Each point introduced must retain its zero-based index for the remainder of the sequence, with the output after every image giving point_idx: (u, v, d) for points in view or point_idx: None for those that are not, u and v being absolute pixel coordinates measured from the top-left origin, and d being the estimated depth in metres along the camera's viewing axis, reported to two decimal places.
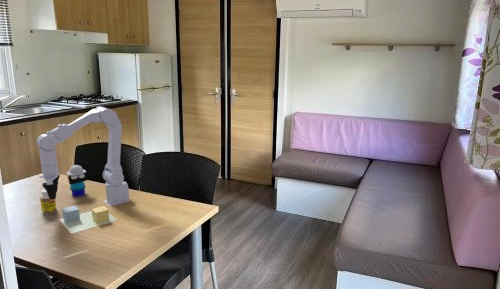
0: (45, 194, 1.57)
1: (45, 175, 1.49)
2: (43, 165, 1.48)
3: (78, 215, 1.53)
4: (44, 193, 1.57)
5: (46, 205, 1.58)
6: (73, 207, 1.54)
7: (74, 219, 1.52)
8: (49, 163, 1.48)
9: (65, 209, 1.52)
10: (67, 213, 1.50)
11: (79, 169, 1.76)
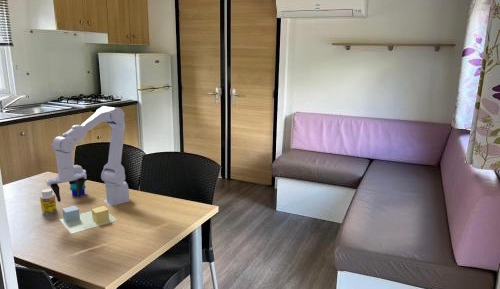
0: (45, 194, 1.57)
1: None
2: (61, 168, 1.46)
3: (78, 215, 1.53)
4: (44, 193, 1.57)
5: (46, 205, 1.58)
6: (73, 207, 1.54)
7: (74, 219, 1.52)
8: (68, 165, 1.46)
9: (65, 209, 1.52)
10: (67, 213, 1.50)
11: (79, 169, 1.76)
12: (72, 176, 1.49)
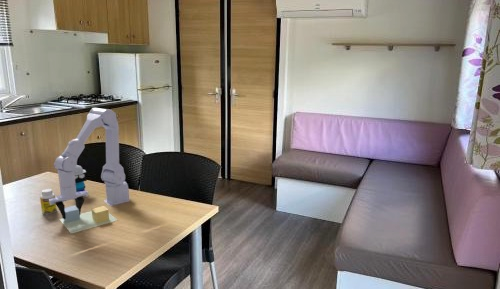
0: (45, 194, 1.57)
1: None
2: (64, 187, 1.48)
3: (78, 215, 1.53)
4: (44, 193, 1.57)
5: (46, 205, 1.58)
6: (73, 207, 1.54)
7: (74, 219, 1.52)
8: (70, 184, 1.48)
9: (65, 209, 1.52)
10: (67, 213, 1.50)
11: (79, 169, 1.76)
12: (74, 194, 1.51)
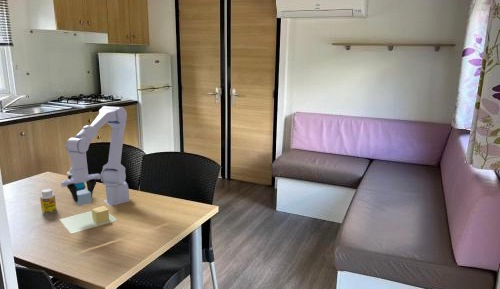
0: (45, 194, 1.57)
1: None
2: (78, 169, 1.46)
3: (90, 198, 1.51)
4: (44, 193, 1.57)
5: (46, 205, 1.58)
6: (84, 190, 1.53)
7: (86, 202, 1.51)
8: (84, 166, 1.47)
9: (77, 192, 1.51)
10: (79, 196, 1.48)
11: None
12: (86, 177, 1.49)
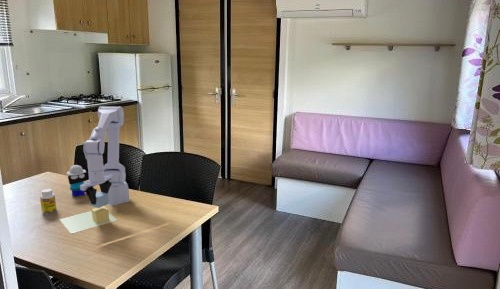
0: (45, 194, 1.57)
1: (89, 180, 1.48)
2: (97, 171, 1.46)
3: (107, 199, 1.53)
4: (44, 193, 1.57)
5: (46, 205, 1.58)
6: (99, 193, 1.53)
7: (104, 204, 1.51)
8: (102, 167, 1.48)
9: None
10: (99, 198, 1.49)
11: (79, 169, 1.76)
12: (104, 178, 1.50)
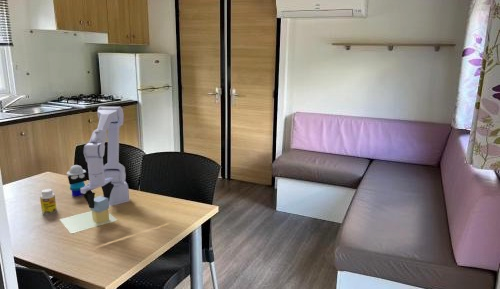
0: (45, 194, 1.57)
1: (89, 182, 1.49)
2: (97, 173, 1.47)
3: (108, 204, 1.53)
4: (44, 193, 1.57)
5: (46, 205, 1.58)
6: (100, 197, 1.53)
7: (105, 208, 1.52)
8: (102, 170, 1.48)
9: (94, 200, 1.51)
10: (99, 203, 1.49)
11: (79, 169, 1.76)
12: (104, 181, 1.50)
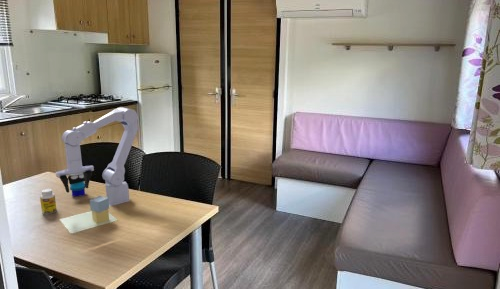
0: (45, 194, 1.57)
1: None
2: (69, 160, 1.53)
3: (108, 204, 1.53)
4: (44, 193, 1.57)
5: (46, 205, 1.58)
6: (100, 197, 1.53)
7: (105, 208, 1.52)
8: (74, 158, 1.53)
9: (94, 200, 1.51)
10: (99, 203, 1.49)
11: None
12: (80, 168, 1.56)
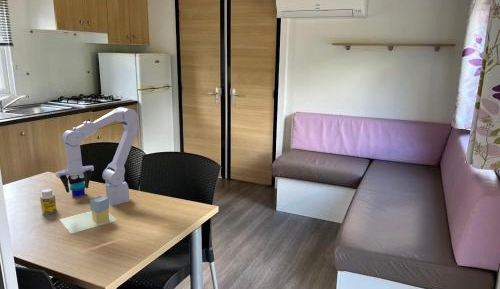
0: (45, 194, 1.57)
1: None
2: (69, 160, 1.53)
3: (108, 204, 1.53)
4: (44, 193, 1.57)
5: (46, 205, 1.58)
6: (100, 197, 1.53)
7: (105, 208, 1.52)
8: (74, 158, 1.53)
9: (94, 200, 1.51)
10: (99, 203, 1.49)
11: None
12: (80, 168, 1.56)
